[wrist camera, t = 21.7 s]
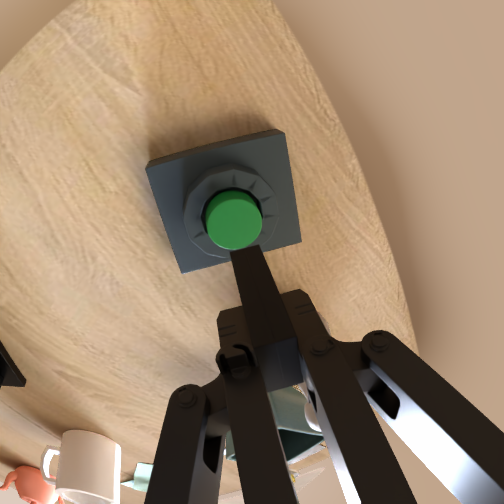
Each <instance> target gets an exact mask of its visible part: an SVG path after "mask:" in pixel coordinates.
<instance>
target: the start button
mask: <svg viewBox="0 0 504 504" xmlns="http://www.w3.org/2000/svg"><path fill="white" fill-rule="evenodd" d="M206 226H207V231H208V234H209V236H210V238H211V239H212V241H213V242H214V243H216V244H217V245H218V246H220V247H223V248H226V249H240V248H244V247H246V246H248V245H249V244H251V243H252V242H253V241H254V240H255V239H256V238H257V237H258V235H259V233H260V231H261V228H262V217H261V214H260V212H259V210H258V208H257V206H256V204H255V202H254V201H253V199H252V198H251V197H250V196H249V195H247V194H245V193H243V192H240V191H234V190H232V191H225V192H222V193H220V194H218V195H217V196H215V197H214V198H213V199H212V200H211V201H210V203H209V205H208V206H207V209H206Z"/></svg>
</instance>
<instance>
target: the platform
mask: <svg viewBox="0 0 504 504" xmlns="http://www.w3.org/2000/svg"><path fill="white" fill-rule="evenodd" d="M324 448H326V447H324V446H321V445H319V444H318V445H317V446H315V447H313V448H312V449H310V450H308V451H307V452H305V453H303V454H302V455H300V456H298V457H296V458H295V459H293V460H291V461H290V462H288V465H290V464H293V463H295V462H297V461H299V460H301V459H304V458H306V457H308V456H310V455H312V454H314V453H316V452H318V451H320V450H322V449H324ZM224 455H226V448H225V449H224ZM289 470H290V474H291V477H292V481H293V482H295V478H296V477H297V476H298V475H299V474H300V472H299V471H298V470H294V469H291V468H289Z"/></svg>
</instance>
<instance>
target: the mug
mask: <svg viewBox="0 0 504 504" xmlns="http://www.w3.org/2000/svg"><path fill="white" fill-rule="evenodd" d="M53 454H56V455H60V456H59V463H58V470H57V478H56V479H54V478H50V476H49V473H48V469H49V461H50V460H51V458H52V456H53ZM120 457H121V449H120V446H119V445H118V444H117V443H116V442H114V441H113V440H111V439H110V438H108V437H105V436H103V435H101V434H97V433H94V432H91V431H85V430H69V431H66V432H65V433H63V437H62V443H61V447H55V446H48V445H47V446H46V448H45V450H44V452H43V454H42V455H41V462H40V470H41V474H42V477H43V480H44V481H45V482H46V483H48V484H50V485H55V492H56V494H57V495H59V496H60V497H62V498H64V499H66V500H68V501H70V502H73V503H76V504H119V495H120Z"/></svg>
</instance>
